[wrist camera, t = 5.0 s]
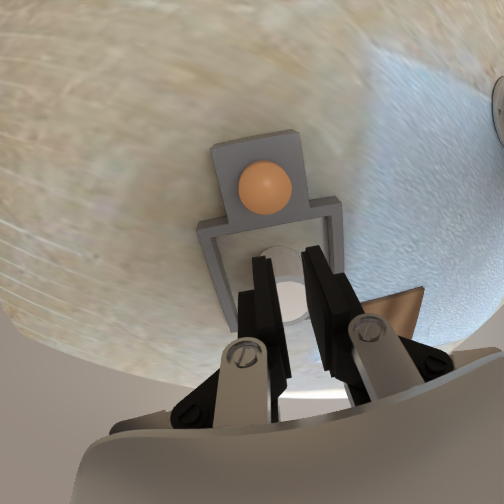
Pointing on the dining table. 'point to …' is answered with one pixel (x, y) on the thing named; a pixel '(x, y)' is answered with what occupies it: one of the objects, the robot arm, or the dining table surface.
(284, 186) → the orange rounded piece
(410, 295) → the walnut mat
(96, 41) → the dining table surface
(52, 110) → the dining table surface
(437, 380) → the robot arm
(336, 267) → the housing
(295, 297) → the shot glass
